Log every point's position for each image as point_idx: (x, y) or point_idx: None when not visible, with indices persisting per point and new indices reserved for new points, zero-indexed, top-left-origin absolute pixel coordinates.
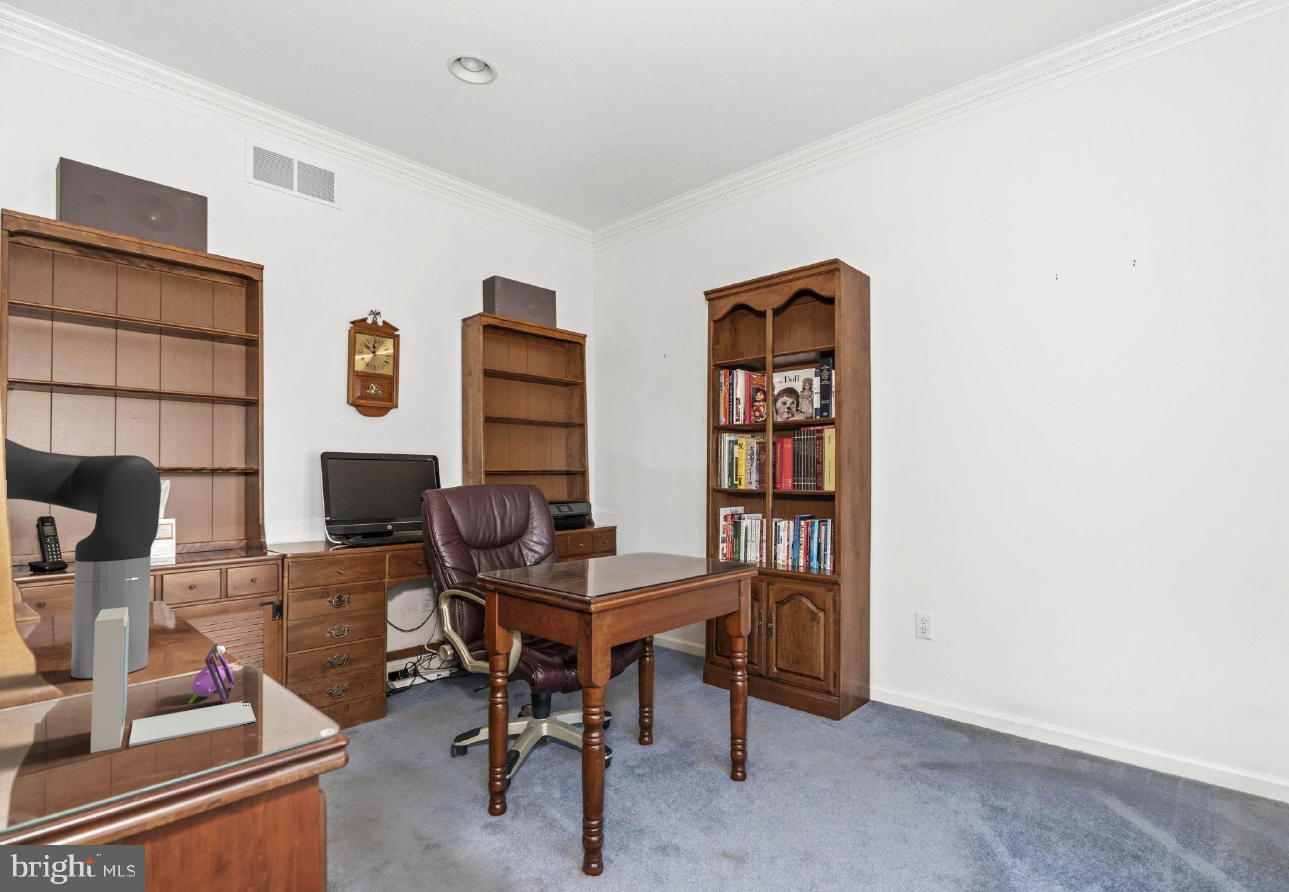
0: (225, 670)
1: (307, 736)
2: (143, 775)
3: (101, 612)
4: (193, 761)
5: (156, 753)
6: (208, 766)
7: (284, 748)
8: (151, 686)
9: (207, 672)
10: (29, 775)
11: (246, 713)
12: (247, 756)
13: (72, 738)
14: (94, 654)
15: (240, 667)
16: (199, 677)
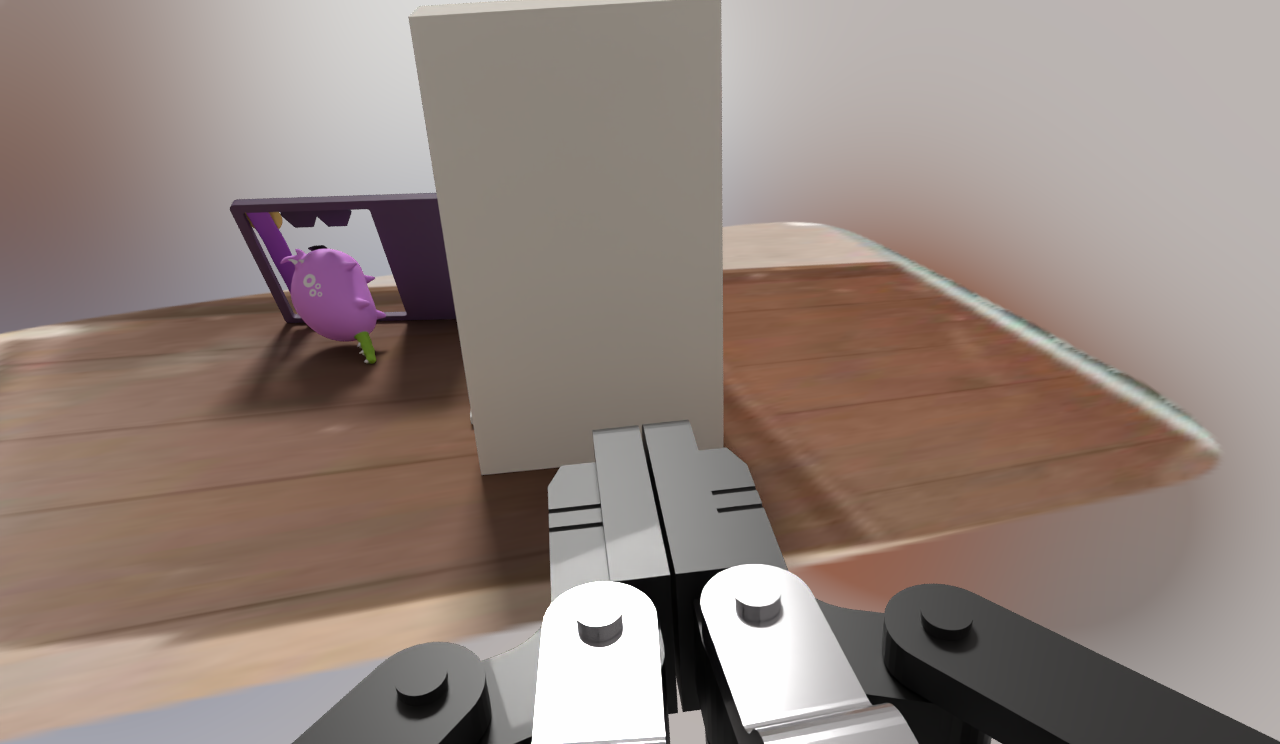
0: (274, 276)
1: (819, 233)
2: (959, 356)
3: (498, 10)
4: (897, 315)
5: (805, 360)
6: (939, 299)
7: (877, 246)
8: (5, 450)
9: (354, 265)
10: (864, 520)
11: None
12: (901, 271)
13: (522, 509)
14: (720, 135)
15: (49, 328)
16: (343, 287)
